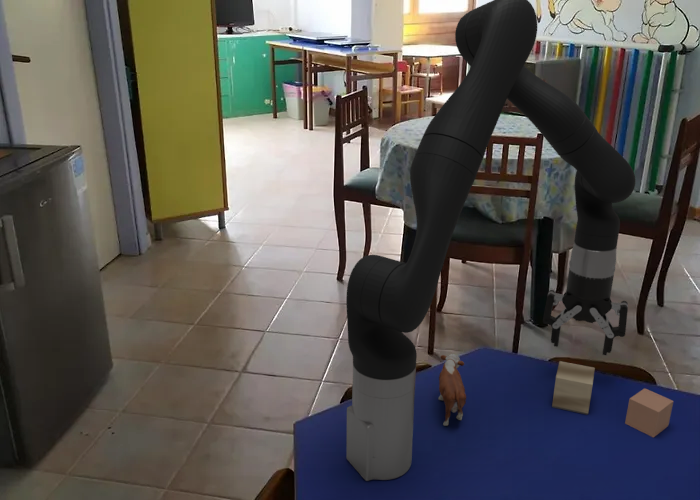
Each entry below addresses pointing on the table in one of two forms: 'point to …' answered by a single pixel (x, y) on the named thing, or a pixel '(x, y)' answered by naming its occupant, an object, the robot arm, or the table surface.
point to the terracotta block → (649, 412)
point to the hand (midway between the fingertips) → (580, 348)
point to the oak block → (573, 387)
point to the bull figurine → (452, 387)
